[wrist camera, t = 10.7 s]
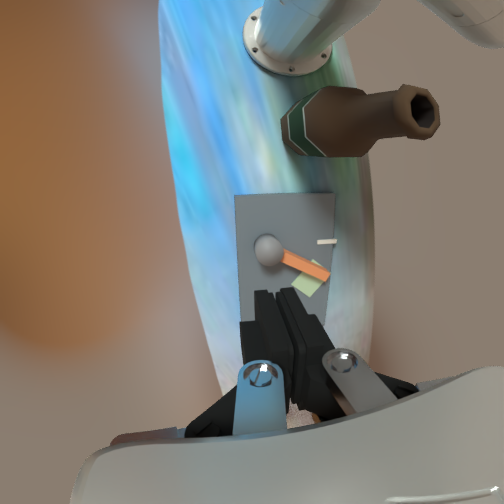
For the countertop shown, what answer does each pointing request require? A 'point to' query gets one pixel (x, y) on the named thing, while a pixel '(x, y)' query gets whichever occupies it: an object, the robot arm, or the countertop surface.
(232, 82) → the countertop surface
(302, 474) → the robot arm
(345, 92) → the beer bottle
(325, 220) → the tuner board
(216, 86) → the countertop surface
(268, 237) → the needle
